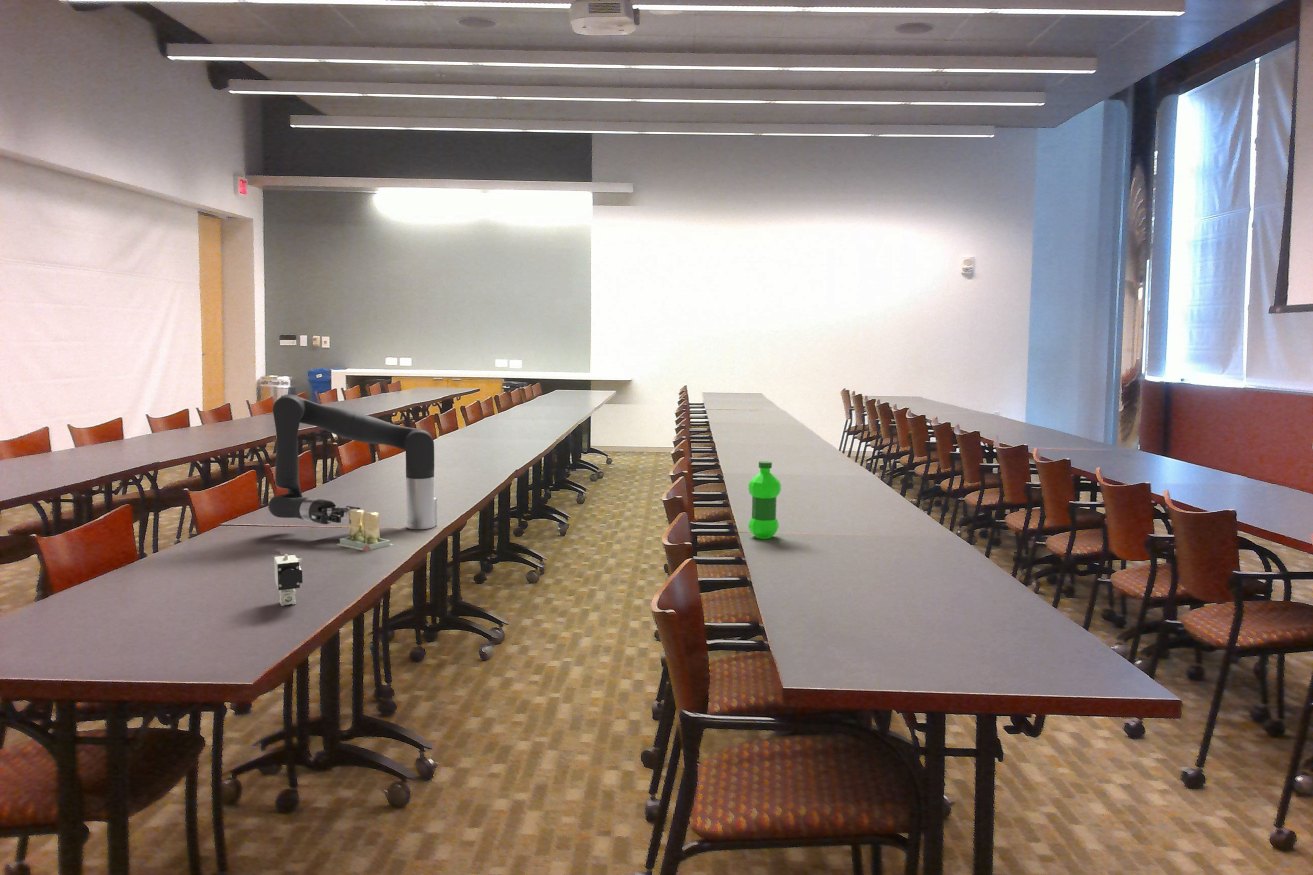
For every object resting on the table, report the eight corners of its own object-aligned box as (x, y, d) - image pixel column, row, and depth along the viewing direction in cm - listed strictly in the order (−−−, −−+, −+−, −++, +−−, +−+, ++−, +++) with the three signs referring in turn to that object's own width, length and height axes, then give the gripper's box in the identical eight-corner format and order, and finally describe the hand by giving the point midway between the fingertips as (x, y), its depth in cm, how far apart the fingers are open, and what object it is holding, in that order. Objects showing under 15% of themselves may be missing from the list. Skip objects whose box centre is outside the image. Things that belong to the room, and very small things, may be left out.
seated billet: (373, 543, 261) (372, 511, 260) (383, 545, 259) (382, 512, 257) (360, 546, 257) (360, 513, 256) (370, 548, 255) (370, 515, 254)
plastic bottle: (770, 532, 289) (772, 459, 287) (784, 539, 279) (786, 463, 277) (742, 534, 286) (744, 460, 283) (756, 541, 276) (758, 464, 274)
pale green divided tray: (363, 542, 268) (363, 533, 267) (393, 549, 260) (393, 539, 260) (336, 549, 259) (336, 539, 259) (366, 555, 252) (366, 545, 252)
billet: (358, 540, 265) (358, 508, 263) (368, 542, 262) (367, 510, 261) (346, 543, 261) (345, 510, 260) (356, 545, 258) (355, 512, 257)
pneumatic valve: (279, 611, 199) (277, 561, 198) (274, 598, 210) (273, 550, 208) (305, 608, 202) (303, 558, 201) (299, 595, 212) (297, 548, 211)
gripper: (297, 502, 264) (331, 508, 255) (336, 495, 276) (370, 501, 267) (298, 526, 265) (332, 533, 256) (337, 518, 277) (371, 525, 268)
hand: (351, 516), depth 262 cm, fingers open, 8 cm apart
